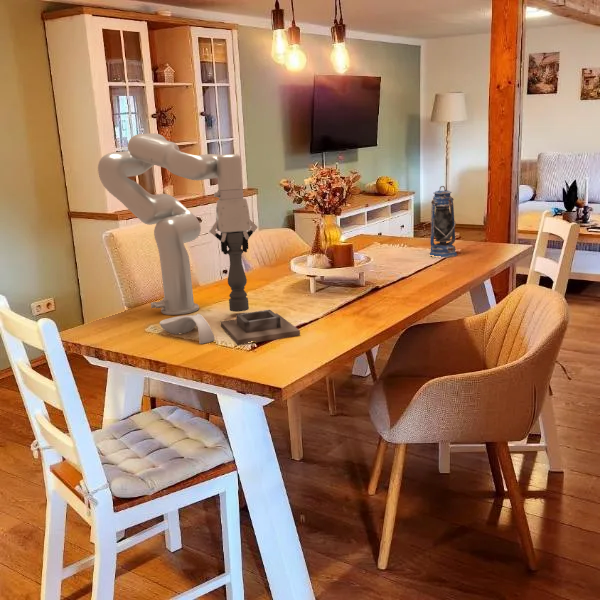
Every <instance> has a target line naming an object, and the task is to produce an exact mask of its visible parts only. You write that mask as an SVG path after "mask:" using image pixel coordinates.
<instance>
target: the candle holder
mask: <svg viewBox="0 0 600 600" xmlns="http://www.w3.org/2000/svg"><path fill="white" fill-rule="evenodd" d="M225 241H226V242H227V253H228V254H227V255H228V256H229V269H228V274H227V275H228V276H227V285H228V286H229V287H230V293H229V295H228V296H229V299H228V306H229V311H230V312H237V313H238V312H245V311H249V309H250V306H249V297H247V296H248V293H247V292H246V291H245V286H246V285H247V281H248V279H247V276H246V272H245V269H244V266H243V261H242V260H243V259H242V255H243V253H244V251H243V250H242V244H243V243H242V242H243V232H232V233H227V234H226V238H225Z"/></svg>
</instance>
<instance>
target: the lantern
mask: <svg viewBox="0 0 600 600" xmlns="http://www.w3.org/2000/svg"><path fill="white" fill-rule="evenodd" d="M442 188H443V190H442ZM451 193H452V191H450V190H447V189H446V186H445V185H440V186H439V190H435V192H433V194H434V196H433V198H432V200H431V212H430V213H431V214H430V215H431V217H430V223H429V224H430V252H429V254H430V255H434V256H441V257H445V258H444V259H448V258H454V257H457V256H458V253H457V251H456V246H455V245H454V244H455V242H456V228H455V226H456V221H455V212H454V211H455V209H454V198H453V196H451ZM435 242H437V243H435Z"/></svg>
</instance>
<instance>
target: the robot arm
mask: <svg viewBox="0 0 600 600" xmlns="http://www.w3.org/2000/svg"><path fill="white" fill-rule="evenodd" d="M153 166H156V167H161V168H164V169H166V170H167V171H169V172H170V173H171V174H172V175H175V176H178V177H180V178H181V177H182V178H185V179H187V180H191V181H203V180H205V181H206V180H211V179H217V187H218V190H217V191H215V192H213V195H214V196H213V197H214V198H218V200H216V206H215V207H216V208H215V209H216V211H215V213H216V214H215V222H214V224H213V225H212V226H211V228H210V229H209V233H210V234H211V235H212V236H214V237H215V238H216V239H217V240H219V241H220V248H221V249H220V250H221V252H222V253H223V255H229V254H228V253H227V251H228V246H227V242H226V241H225V238H226V234H227V233H232V232H243V242H242V243H243V244H242V247H241V249H242V250H243V253H248V250H249V239H250V237H251V236H252V235H253V233H254V232H255V231H256V230H257V229H258V226H257V224H256V223H254V222H253V221H252V220H251V217H250V210H249V205H248V201H247V198H245V197H244V187H243V171H242V169H243V168H242V159H241V156H240V155H239V154H235V153H233V154H232V153H230V154H229V153H227V154H226V153H225V154H218V153H217V154H215V153H207V154H205V153H204V154H198V155H196V154H191V153H186V152H183V151H180V148H179V145H178V144H177V143H175V142H174V141H169V140H167V139H166V137H165V136H163V135H162V134H159V133H156V132H155V133H139V134H135V135H133V136H131V138H130V139H129V140H128V143H127V151H114V152H110V153H106V154H105V155H103V156H102V157H101V158H100V159H99V161H98V164H97V172H98V177H99V179H100V181H101V184H102V185H103V187H104V189H106V190H107V192H108V193H110V194H111V195H112V196H113V197H114V198H116V199H117V200H118V201H119V202H121V204H122V205H124V207H126V209H128V210H129V211H130V212H131V213H132V214H133V215H134V216H135V217H136V218H137V219H138V220H139V221H141V222H142V223H143V224H144V225H152V226H153V225H155V226H154V230H153V235H154V240H155V243H156V246H157V249H158V256H159V263H160V268H161V269H160V270H161V277H162V278H161V280H162V287H163V296H164V297H162V299H160V301H151V302H150V308H151V309H155V308H156V309H160V313H161V314H163V315H168V316H182V315H188V314H191V313H194V312H196V311H198V310H199V309H200V305H199V304H198V303H195V302H194V294H193V293H194V292H193V281H192V272H191V262H190V261H191V260H190V256H189V253H188V250H187V249H186V246H185V243H189V242H193V241H195V240H196V239H198V237H199V236H200V234H201V231H202V229H201V228H202V227H201V222H200V221H199V219H198V218H197V217H196V216H195V214H194V213H193V212H192V211H190V210H189V209H188V208H187V206H185V205H183V204H182V203H181V201H179V200H178V198H175V197H174V196H172V195H171V194H167V193H158V194H157V193H156V194H152V193H150V192H148V191H147V190H146V189H144V187H143V186H142V185H141V184H140V183H138V182H137V181H135V180H133V179H130V177H137V176H140V175H143V174H144V173H145V172H147V171H148V170H150V169H151V168H153ZM217 231H219V233H220V234H219V233H218V232H217Z"/></svg>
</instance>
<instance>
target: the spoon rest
mask: <svg viewBox="0 0 600 600" xmlns="http://www.w3.org/2000/svg"><path fill="white" fill-rule="evenodd" d="M158 324H159V326H160V327H161V328H162V329H163V330H164V331H166V332H167V333H170V334H172V335H180V334H179V333H184V334H187V333H186V332H188V333H190V332H192V331H193V330H194V329H195V327H196V328H197V333H198V341H199V344H200V345H203V344H207V343H211V342H214V341H215V340H216V339H215V334H214V332H213V330H212V328H211V326H210V325H209V323H208V321H207V320H206V319H205V317H204V316H203V315H202V314H200V313H196V314H194V315H191V314H184V315H177V316H174V317H169V318H164V319H163V320H160V321H159V323H158ZM189 331H190V332H189Z"/></svg>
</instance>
